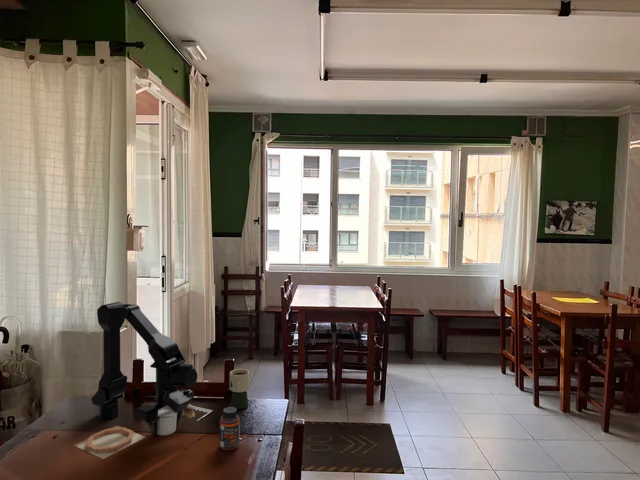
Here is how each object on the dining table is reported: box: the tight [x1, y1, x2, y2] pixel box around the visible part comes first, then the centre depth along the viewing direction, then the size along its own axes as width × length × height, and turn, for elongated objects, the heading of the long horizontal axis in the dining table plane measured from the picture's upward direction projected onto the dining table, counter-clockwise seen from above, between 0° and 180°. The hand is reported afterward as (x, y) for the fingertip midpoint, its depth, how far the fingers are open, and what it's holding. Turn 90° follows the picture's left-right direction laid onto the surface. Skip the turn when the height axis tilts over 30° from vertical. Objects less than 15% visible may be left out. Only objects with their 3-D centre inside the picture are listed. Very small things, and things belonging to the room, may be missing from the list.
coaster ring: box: [86, 426, 135, 453], centre depth 129 cm, size 12×12×1 cm
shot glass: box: [157, 407, 177, 436], centre depth 136 cm, size 7×7×7 cm
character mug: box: [229, 368, 251, 410], centre depth 156 cm, size 11×7×13 cm, turn 4°
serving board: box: [73, 425, 146, 460], centre depth 129 cm, size 14×14×1 cm
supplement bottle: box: [218, 406, 241, 452], centre depth 129 cm, size 6×6×11 cm
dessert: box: [181, 403, 214, 422], centre depth 149 cm, size 12×12×5 cm
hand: (166, 430), depth 136 cm, fingers open, 8 cm apart
